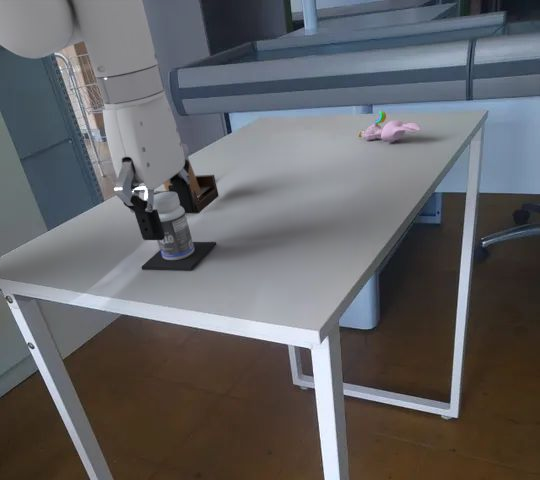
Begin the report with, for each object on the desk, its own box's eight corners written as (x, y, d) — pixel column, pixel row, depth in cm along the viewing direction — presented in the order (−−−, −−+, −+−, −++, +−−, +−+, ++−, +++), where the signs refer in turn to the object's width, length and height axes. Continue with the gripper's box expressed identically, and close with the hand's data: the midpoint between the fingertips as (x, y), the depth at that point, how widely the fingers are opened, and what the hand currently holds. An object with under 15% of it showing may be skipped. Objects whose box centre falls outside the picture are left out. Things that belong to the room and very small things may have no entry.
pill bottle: (155, 258, 78) (137, 201, 73) (179, 244, 80) (163, 188, 76) (178, 263, 75) (161, 204, 70) (201, 249, 78) (187, 191, 73)
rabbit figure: (353, 149, 111) (406, 145, 99) (348, 118, 109) (402, 110, 96) (376, 140, 114) (431, 135, 101) (371, 109, 111) (427, 101, 99)
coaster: (142, 269, 77) (141, 266, 76) (170, 244, 82) (169, 241, 82) (191, 270, 74) (190, 267, 73) (216, 244, 79) (216, 241, 79)
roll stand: (159, 214, 95) (153, 192, 92) (181, 196, 100) (175, 176, 98) (198, 213, 92) (193, 191, 89) (218, 195, 97) (214, 174, 95)
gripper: (143, 75, 73) (177, 202, 83) (61, 109, 60) (113, 253, 70) (192, 69, 70) (221, 201, 80) (116, 102, 58) (162, 254, 68)
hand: (170, 224), depth 75 cm, fingers open, 8 cm apart
